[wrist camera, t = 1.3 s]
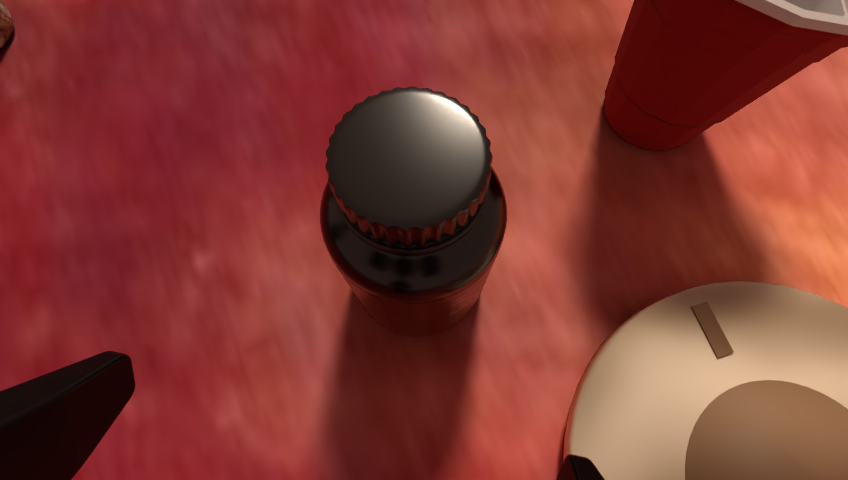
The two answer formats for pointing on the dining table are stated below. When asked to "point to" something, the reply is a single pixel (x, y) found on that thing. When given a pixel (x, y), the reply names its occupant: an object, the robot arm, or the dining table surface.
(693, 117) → the plastic cup
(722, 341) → the disc
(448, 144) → the supplement bottle
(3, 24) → the sauce bottle
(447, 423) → the dining table surface
